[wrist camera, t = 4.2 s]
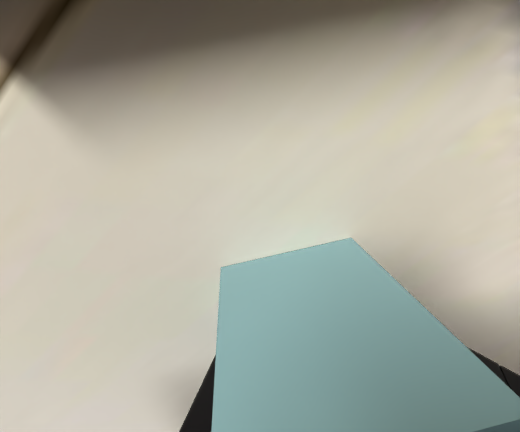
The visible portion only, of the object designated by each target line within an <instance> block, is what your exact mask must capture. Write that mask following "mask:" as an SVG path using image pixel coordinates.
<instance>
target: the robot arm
mask: <svg viewBox="0 0 520 432" xmlns="http://www.w3.org/2000/svg"><path fill="white" fill-rule="evenodd" d="M467 348H468V347H467ZM468 349H469V350H470V351H471V352H472V353H473V354H474V355H475V356H476V357H477V358H478V359H480V360H481V361H482V362H483V363H484V364H485V365H486V366H487V367H488V368H489V369H490V370H491V371H492V372H493V373H494V374H495V375H496V376H497V377H499V378H500V379H501V380H502V381H503V382H504V383H505V384H506V385H507V386H508V387H509V388H510V389H511V390H512V391H513V392H514V393H515V394H516V395H518V396H519V397H520V375H518V374H516V373H514V372H512V371H510V370H509V369H507V368H505V367H503V366H499V365H498V364H497V363H495V362H494V361H492V360H490V359H488V358H486V357H484V356H482V355H481V354H479V353H477V352H475V351H473V350H471V349H470V348H468ZM215 361H216V355H215V357H214V359H213V361H212V363H211V366H210V368H209V370H208V372H207V374H206V376H205V378H204V380H203V383H202V385H201V387H200V389H199V391H198V393H197V395H196V397H195V399H194V402H193V404H192V406H191V408H190V410H189V412H188V414H187V416H186V418H185V421H184V423H183V425H182V427H181V429H180V431H179V432H211V430H212V413H213V395H214V378H215Z"/></svg>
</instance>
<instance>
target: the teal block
mask: <svg viewBox="0 0 520 432" xmlns="http://www.w3.org/2000/svg"><path fill="white" fill-rule="evenodd" d="M211 432H520V397H519V396H518V395H516V394H515V393H514V392H513V391H512V390H511V389H510V388H509V387H508V386H507V385H506V384H505V383H504V382H503V381H502V380H501V379H500V378H499V377H497V376H496V375H495V374H494V373H493V372H492V371H491V370H490V369H489V368H488V367H487V366H486V365H485V364H484V363H483V362H482V361H481V360H480V359H478V358H477V357H476V356H475V355H474V354H473V353H472V352H471V351H470V350H469V349H468V348H467V347H466V346H465V345H464V344H463V343H462V342H461V341H459V340H458V339H457V338H456V337H455V336H454V335H453V334H452V333H451V332H450V331H449V330H448V329H447V328H446V327H445V326H444V325H443V324H442V323H440V322H439V321H438V320H437V319H436V318H435V317H434V316H433V315H432V314H431V313H430V312H429V311H428V310H427V309H426V308H425V307H424V306H423V305H421V304H420V303H419V302H418V301H417V300H416V299H415V298H414V297H413V296H412V295H411V294H410V293H409V292H408V291H407V290H406V289H405V288H404V287H402V286H401V285H400V284H399V283H398V282H397V281H396V280H395V279H394V278H393V277H392V276H391V275H390V274H389V273H388V272H387V271H386V270H385V269H383V268H382V267H381V266H380V265H379V264H378V263H377V262H376V261H375V260H374V259H373V258H372V257H371V256H370V255H369V254H368V253H367V252H365V251H364V250H363V249H362V248H361V247H360V246H359V245H358V244H357V243H356V242H355V241H354V240H353V239H352V238H348V239H344V240H339V241H335V242H331V243H326V244H322V245H317V246H313V247H309V248H304V249H300V250H295V251H291V252H287V253H282V254H278V255H274V256H269V257H265V258H260V259H256V260H252V261H247V262H243V263H238V264H234V265H230V266H225V267H221V275H220V292H219V309H218V326H217V344H216V361H215V378H214V395H213V413H212V430H211Z"/></svg>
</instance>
